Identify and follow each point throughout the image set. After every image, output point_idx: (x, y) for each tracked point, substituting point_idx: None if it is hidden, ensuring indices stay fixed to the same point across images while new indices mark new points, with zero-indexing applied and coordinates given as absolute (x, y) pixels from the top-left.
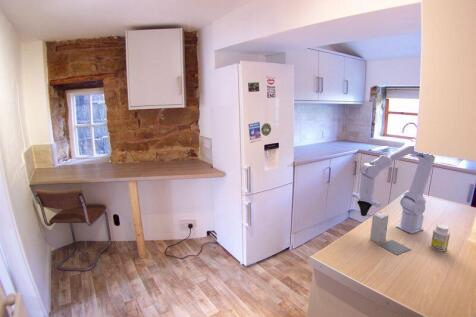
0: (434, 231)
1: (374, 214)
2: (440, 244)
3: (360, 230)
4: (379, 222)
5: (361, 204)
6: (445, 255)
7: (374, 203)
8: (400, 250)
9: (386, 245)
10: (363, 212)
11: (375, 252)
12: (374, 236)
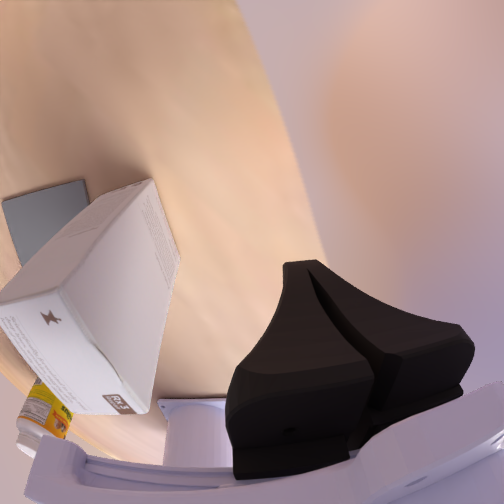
0: (37, 427)
1: (64, 315)
2: (31, 389)
3: (279, 204)
4: (25, 268)
5: (369, 354)
6: (23, 362)
7: (73, 495)
8: (25, 249)
9: (65, 217)
10: (287, 284)
11: (34, 106)
12: (113, 195)
